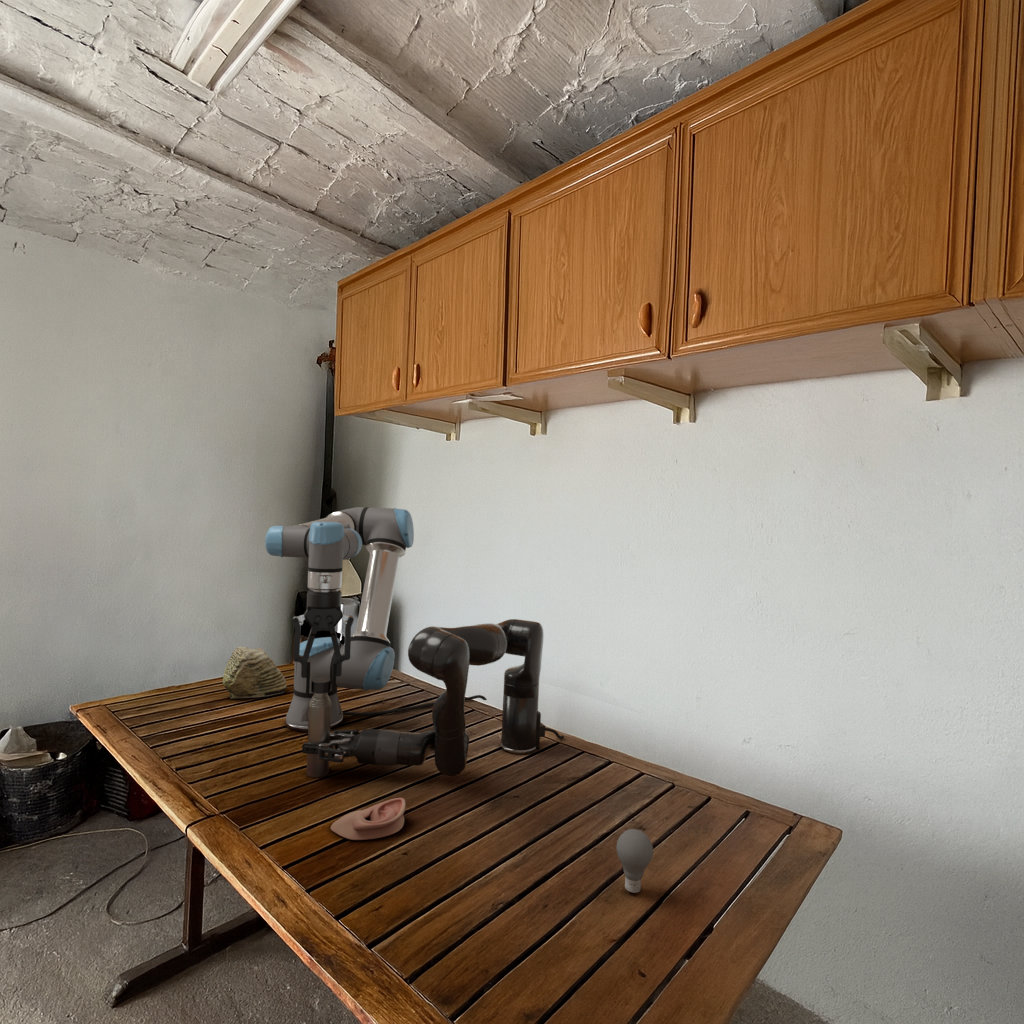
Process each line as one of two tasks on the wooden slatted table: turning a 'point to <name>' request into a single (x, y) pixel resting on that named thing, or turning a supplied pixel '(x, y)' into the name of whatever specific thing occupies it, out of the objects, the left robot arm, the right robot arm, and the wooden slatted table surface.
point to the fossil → (252, 674)
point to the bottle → (318, 732)
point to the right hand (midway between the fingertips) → (307, 743)
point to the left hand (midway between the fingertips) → (320, 690)
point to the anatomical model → (372, 821)
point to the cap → (320, 685)
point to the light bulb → (634, 857)
